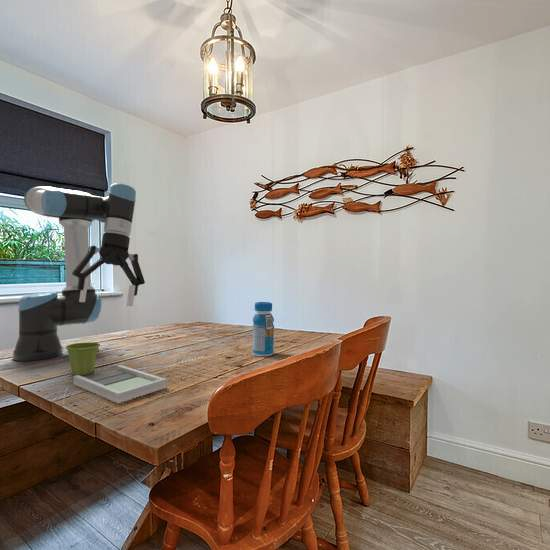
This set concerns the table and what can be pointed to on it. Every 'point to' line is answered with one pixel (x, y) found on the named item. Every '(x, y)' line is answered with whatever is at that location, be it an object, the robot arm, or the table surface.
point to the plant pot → (82, 357)
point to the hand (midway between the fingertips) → (106, 304)
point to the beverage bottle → (263, 329)
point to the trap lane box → (121, 384)
